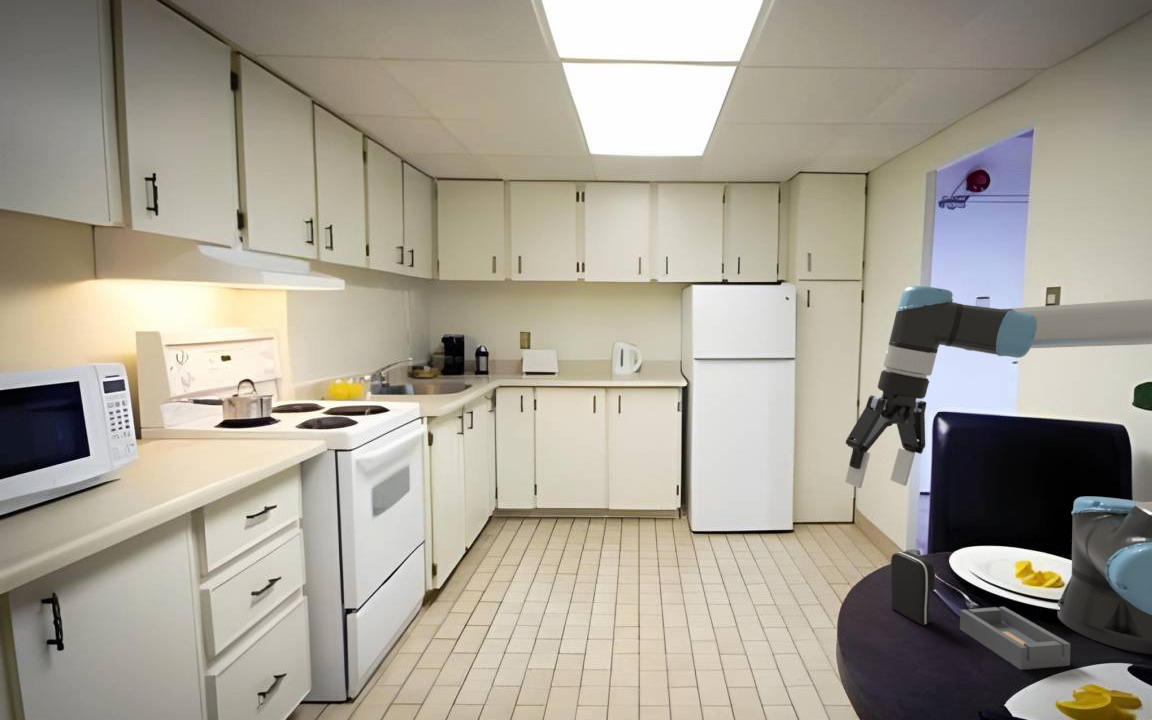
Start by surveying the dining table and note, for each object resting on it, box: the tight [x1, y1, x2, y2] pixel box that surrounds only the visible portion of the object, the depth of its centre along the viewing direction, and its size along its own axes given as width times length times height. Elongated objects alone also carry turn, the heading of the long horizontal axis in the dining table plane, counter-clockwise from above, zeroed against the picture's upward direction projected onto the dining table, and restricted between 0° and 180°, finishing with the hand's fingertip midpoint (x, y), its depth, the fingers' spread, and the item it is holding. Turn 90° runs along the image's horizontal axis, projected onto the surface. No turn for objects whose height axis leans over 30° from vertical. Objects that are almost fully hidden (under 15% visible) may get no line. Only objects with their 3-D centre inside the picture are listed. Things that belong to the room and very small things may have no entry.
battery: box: [890, 551, 936, 626], centre depth 98 cm, size 7×4×11 cm, turn 17°
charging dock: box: [959, 606, 1071, 671], centre depth 88 cm, size 8×12×4 cm
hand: (876, 484), depth 98 cm, fingers open, 13 cm apart
